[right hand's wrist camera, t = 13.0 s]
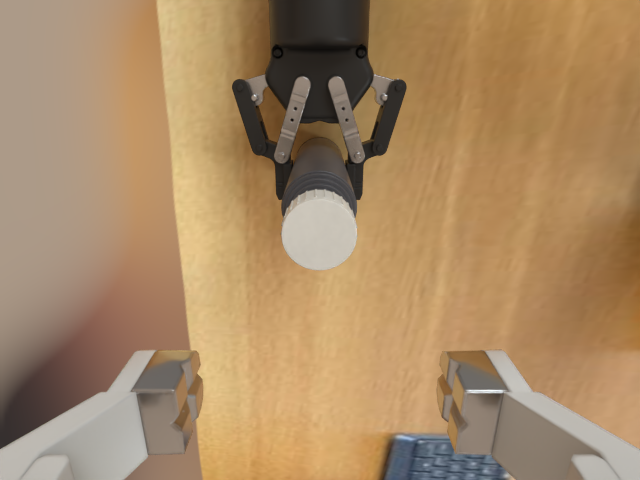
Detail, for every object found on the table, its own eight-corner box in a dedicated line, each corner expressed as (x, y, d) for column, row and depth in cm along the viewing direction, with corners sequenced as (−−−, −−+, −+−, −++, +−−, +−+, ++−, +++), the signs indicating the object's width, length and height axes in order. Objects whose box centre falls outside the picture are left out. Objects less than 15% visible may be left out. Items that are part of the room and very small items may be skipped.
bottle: (331, 129, 40) (344, 173, 20) (349, 173, 42) (378, 255, 21) (288, 148, 41) (257, 210, 21) (307, 191, 42) (296, 287, 22)
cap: (338, 176, 22) (340, 185, 20) (365, 240, 23) (369, 255, 21) (271, 205, 22) (267, 216, 20) (301, 266, 23) (299, 282, 21)
